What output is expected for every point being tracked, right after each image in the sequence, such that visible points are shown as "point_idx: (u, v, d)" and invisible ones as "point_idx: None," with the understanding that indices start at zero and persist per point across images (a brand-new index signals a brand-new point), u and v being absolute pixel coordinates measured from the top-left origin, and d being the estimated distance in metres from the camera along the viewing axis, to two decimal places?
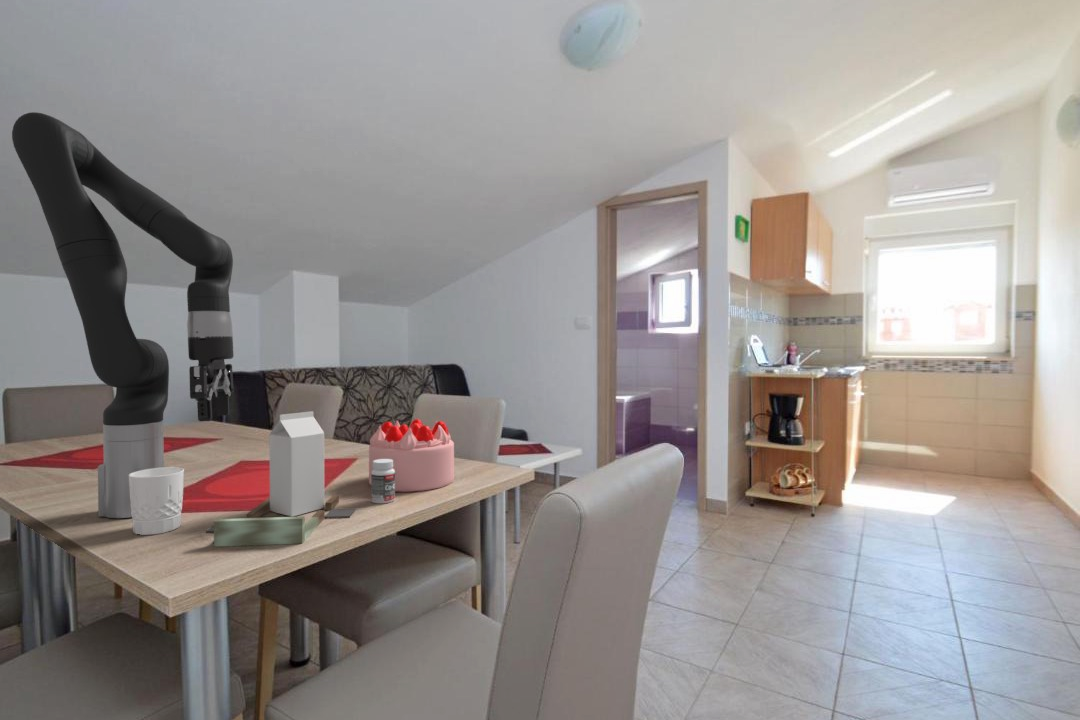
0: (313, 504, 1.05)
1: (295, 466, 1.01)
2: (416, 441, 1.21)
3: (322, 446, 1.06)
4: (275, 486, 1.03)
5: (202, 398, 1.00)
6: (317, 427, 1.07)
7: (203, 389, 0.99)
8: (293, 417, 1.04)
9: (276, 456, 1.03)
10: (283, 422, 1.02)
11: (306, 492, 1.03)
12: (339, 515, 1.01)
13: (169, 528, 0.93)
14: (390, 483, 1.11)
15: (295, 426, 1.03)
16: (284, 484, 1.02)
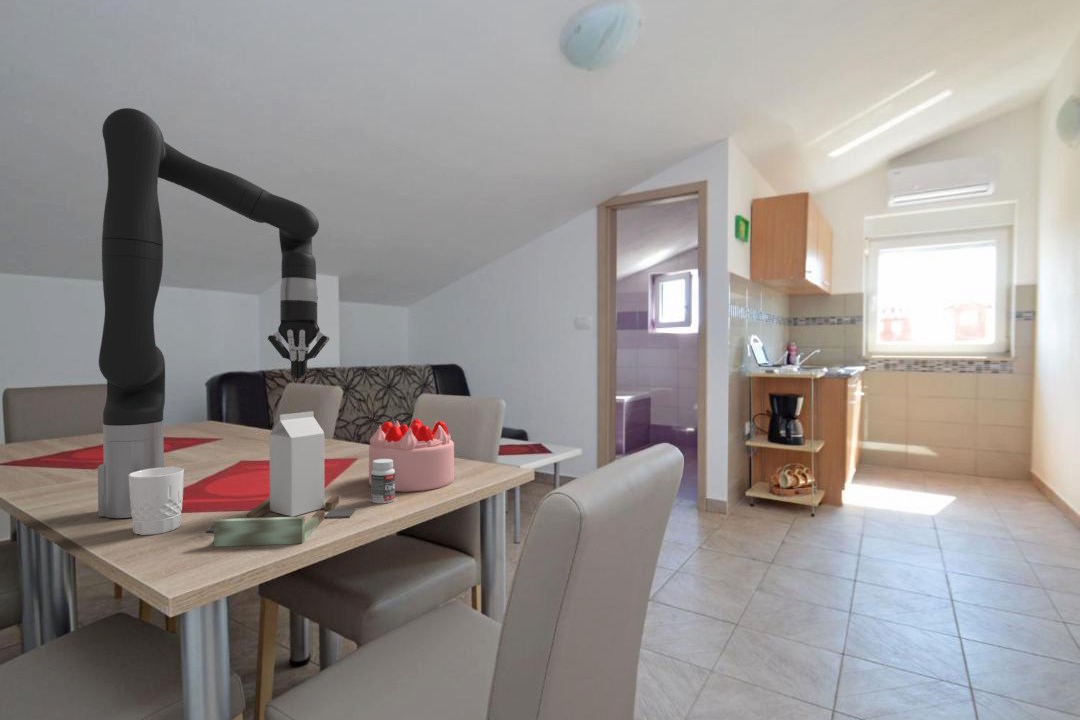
0: (313, 504, 1.05)
1: (295, 466, 1.01)
2: (416, 441, 1.21)
3: (322, 446, 1.06)
4: (275, 486, 1.03)
5: (311, 358, 1.21)
6: (317, 427, 1.07)
7: None
8: (293, 417, 1.04)
9: (276, 456, 1.03)
10: (283, 422, 1.02)
11: (306, 492, 1.03)
12: (339, 515, 1.01)
13: (169, 528, 0.93)
14: (390, 483, 1.11)
15: (295, 426, 1.03)
16: (284, 484, 1.02)
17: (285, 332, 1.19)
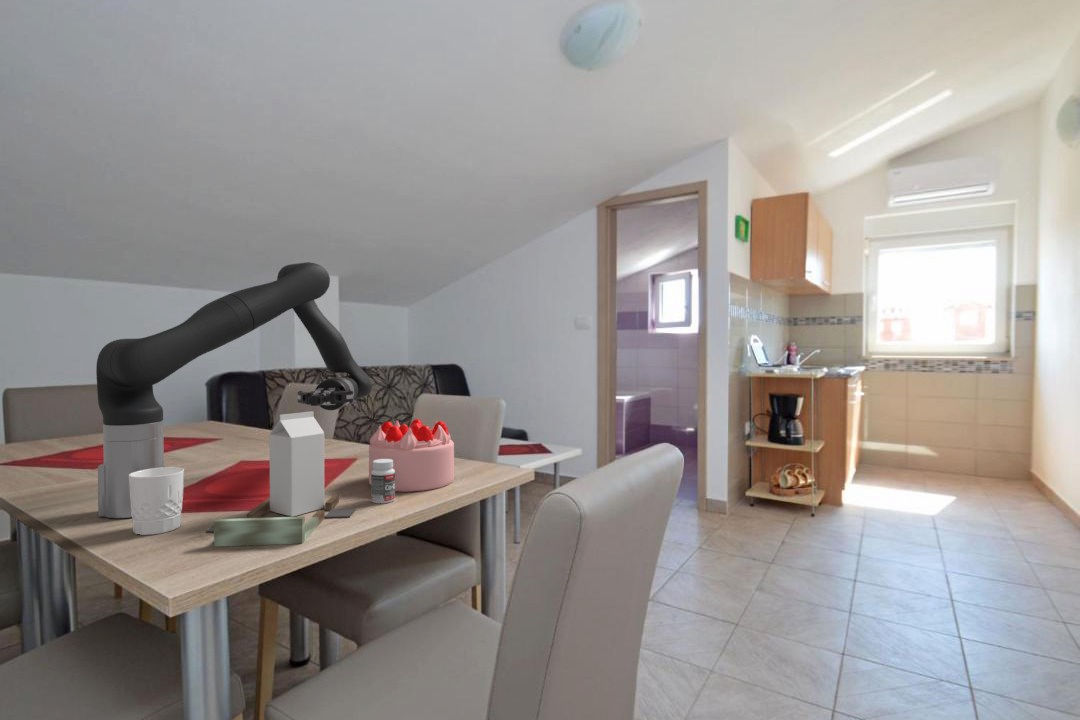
0: (313, 504, 1.05)
1: (295, 466, 1.01)
2: (416, 441, 1.21)
3: (322, 446, 1.06)
4: (275, 486, 1.03)
5: (331, 400, 1.21)
6: (317, 427, 1.07)
7: (338, 402, 1.22)
8: (293, 417, 1.04)
9: (276, 456, 1.03)
10: (283, 422, 1.02)
11: (306, 492, 1.03)
12: (339, 515, 1.01)
13: (169, 528, 0.93)
14: (390, 483, 1.11)
15: (295, 426, 1.03)
16: (284, 484, 1.02)
17: None
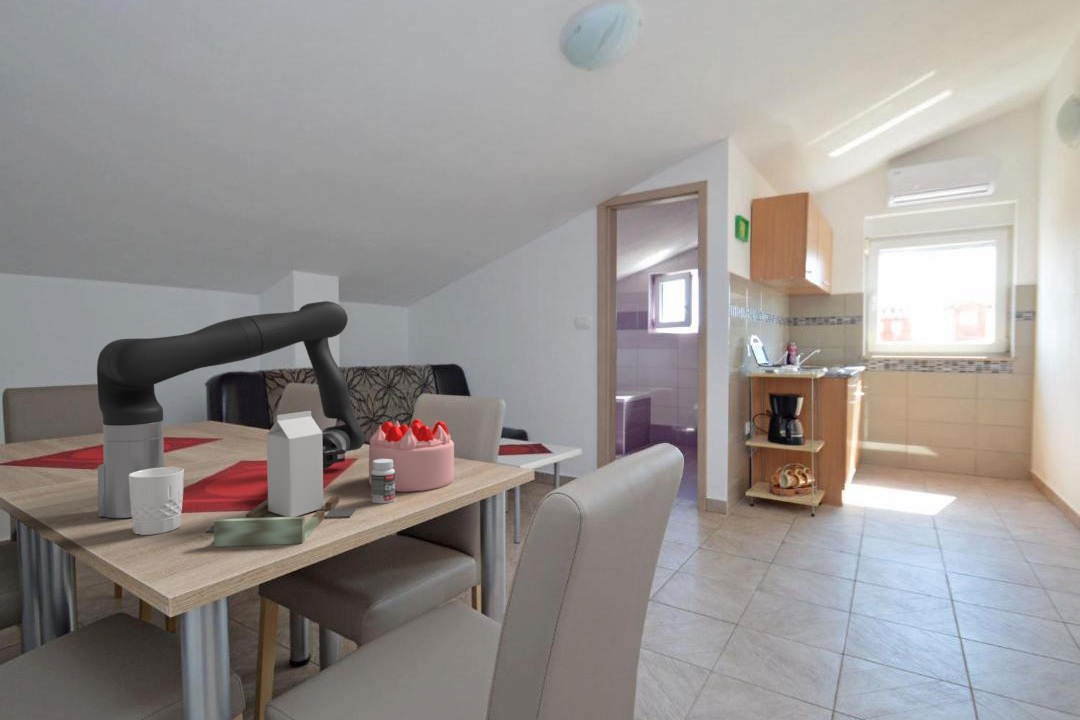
0: (312, 505, 1.04)
1: (293, 467, 1.00)
2: (416, 441, 1.21)
3: (320, 446, 1.05)
4: (274, 487, 1.02)
5: None
6: (315, 426, 1.05)
7: (329, 463, 1.15)
8: (290, 417, 1.03)
9: (274, 457, 1.02)
10: (280, 423, 1.01)
11: (305, 493, 1.02)
12: (339, 515, 1.01)
13: (169, 528, 0.93)
14: (390, 483, 1.11)
15: (293, 426, 1.02)
16: (283, 485, 1.01)
17: None
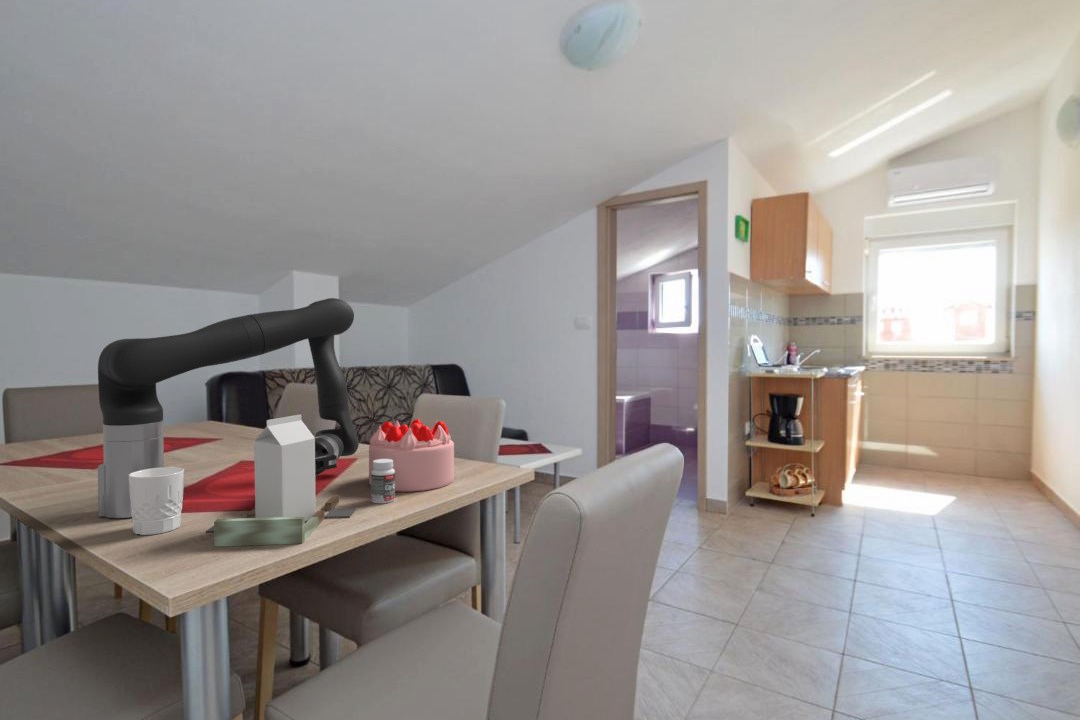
0: (304, 515, 0.97)
1: (285, 475, 0.93)
2: (416, 441, 1.21)
3: (313, 452, 0.98)
4: (262, 497, 0.95)
5: None
6: (306, 431, 0.99)
7: (319, 470, 1.08)
8: (281, 422, 0.96)
9: (263, 465, 0.95)
10: (271, 428, 0.94)
11: (297, 503, 0.96)
12: (339, 515, 1.01)
13: (169, 528, 0.93)
14: (390, 483, 1.11)
15: (284, 432, 0.95)
16: (274, 495, 0.94)
17: None
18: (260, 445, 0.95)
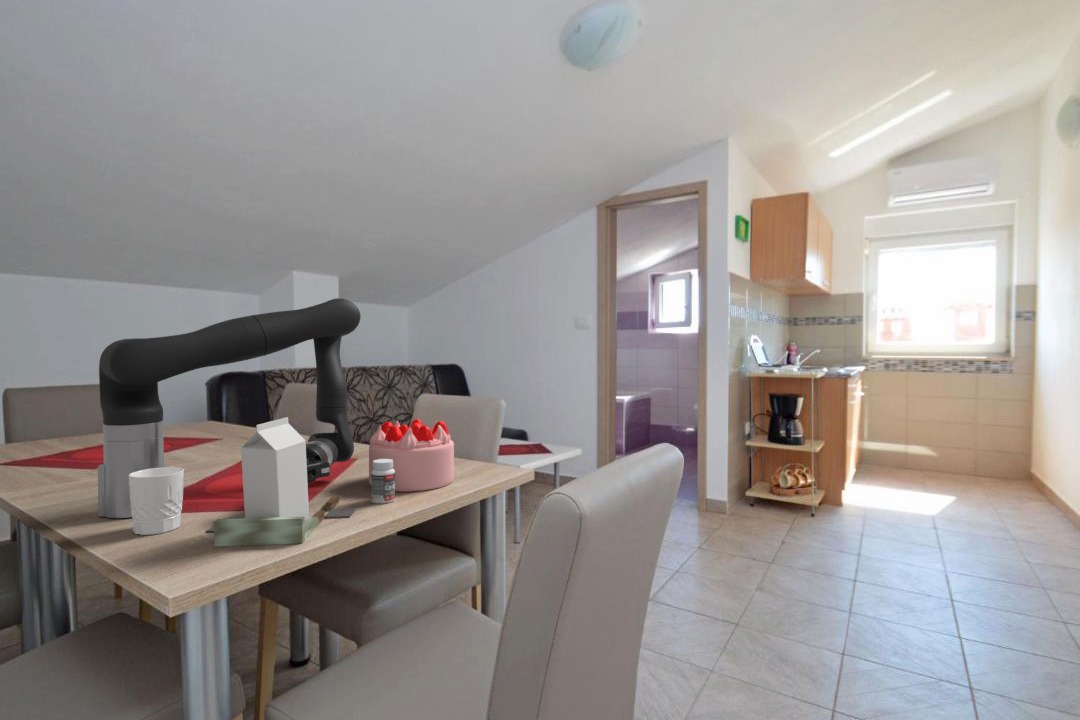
0: None
1: (281, 481, 0.89)
2: (416, 441, 1.21)
3: (304, 455, 0.95)
4: (254, 506, 0.90)
5: None
6: (296, 434, 0.95)
7: (311, 479, 1.02)
8: (269, 426, 0.91)
9: (254, 472, 0.90)
10: (261, 433, 0.89)
11: (292, 509, 0.92)
12: (339, 515, 1.01)
13: (169, 528, 0.93)
14: (390, 483, 1.11)
15: (275, 436, 0.90)
16: (268, 503, 0.89)
17: None
18: (249, 452, 0.89)
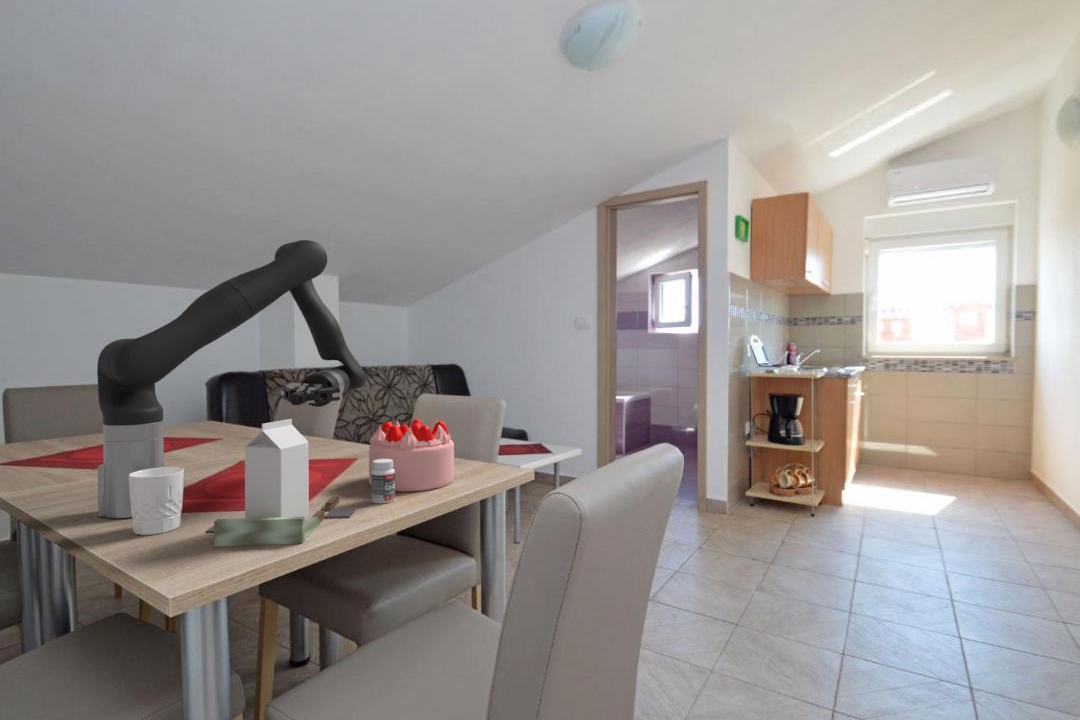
0: None
1: (284, 480, 0.90)
2: (416, 441, 1.21)
3: (307, 457, 0.96)
4: (255, 505, 0.90)
5: (315, 399, 1.12)
6: (299, 436, 0.96)
7: (323, 401, 1.14)
8: (274, 426, 0.92)
9: (257, 471, 0.90)
10: (266, 432, 0.90)
11: (293, 509, 0.92)
12: (339, 515, 1.01)
13: (169, 528, 0.93)
14: (390, 483, 1.11)
15: (279, 436, 0.92)
16: (270, 502, 0.90)
17: None
18: (253, 451, 0.90)
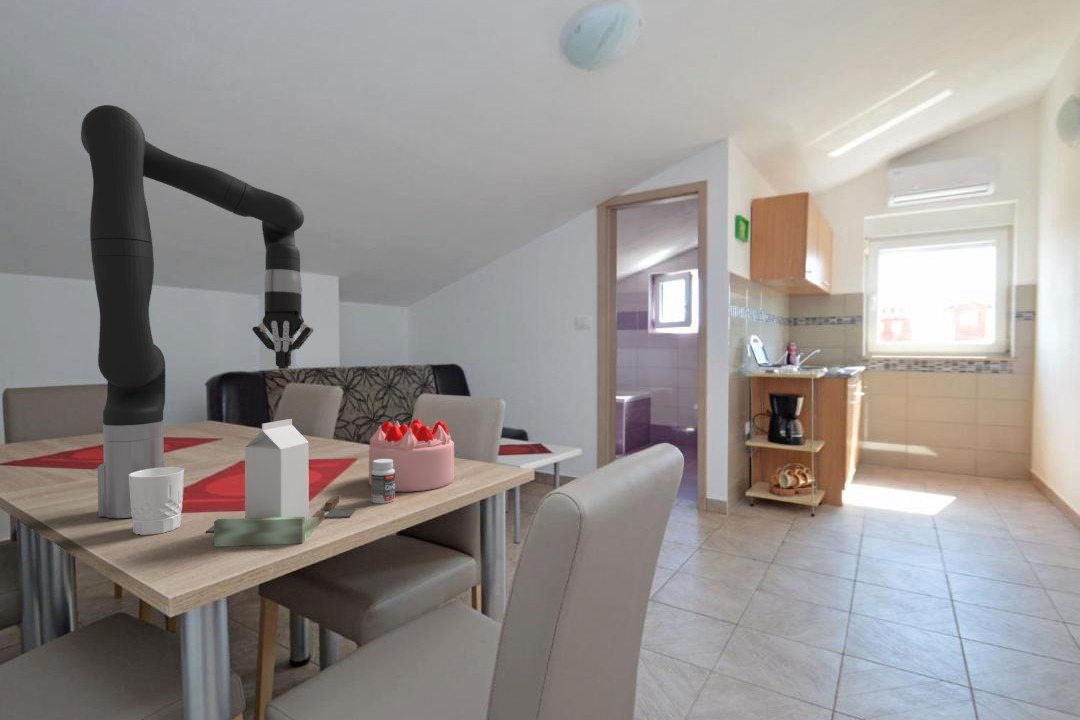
0: None
1: (284, 480, 0.90)
2: (416, 441, 1.21)
3: (307, 457, 0.96)
4: (255, 505, 0.90)
5: None
6: (299, 436, 0.96)
7: None
8: (274, 426, 0.92)
9: (257, 471, 0.90)
10: (266, 432, 0.90)
11: (293, 509, 0.92)
12: (339, 515, 1.01)
13: (169, 528, 0.93)
14: (390, 483, 1.11)
15: (279, 436, 0.92)
16: (270, 502, 0.90)
17: (269, 323, 1.20)
18: (253, 451, 0.90)
